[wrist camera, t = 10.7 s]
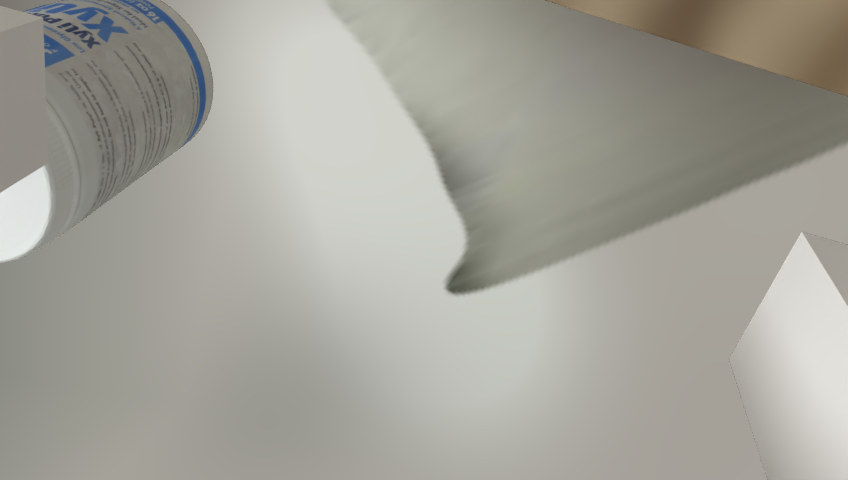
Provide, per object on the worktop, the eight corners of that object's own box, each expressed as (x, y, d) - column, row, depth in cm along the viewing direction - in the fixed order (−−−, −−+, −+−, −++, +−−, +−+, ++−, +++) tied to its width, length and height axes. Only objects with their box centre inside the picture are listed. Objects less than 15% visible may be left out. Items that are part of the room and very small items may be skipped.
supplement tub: (179, -36, 39) (-18, 19, 26) (244, 131, 43) (101, 249, 30) (34, 9, 42) (-207, 78, 29) (108, 161, 45) (-76, 282, 33)
